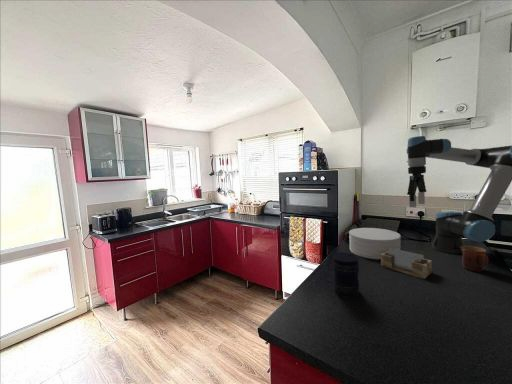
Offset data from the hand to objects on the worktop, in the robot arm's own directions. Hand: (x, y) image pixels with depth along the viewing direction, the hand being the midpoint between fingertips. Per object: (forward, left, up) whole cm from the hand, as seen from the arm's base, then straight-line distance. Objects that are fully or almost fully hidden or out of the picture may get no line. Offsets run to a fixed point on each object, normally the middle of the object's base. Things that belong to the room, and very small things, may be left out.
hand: (417, 205), depth 113 cm
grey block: (+17, 0, -30) cm, 34 cm away
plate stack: (+2, -22, -31) cm, 38 cm away
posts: (+17, 0, -30) cm, 35 cm away
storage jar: (+57, -8, -31) cm, 65 cm away
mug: (-4, +22, -31) cm, 38 cm away
